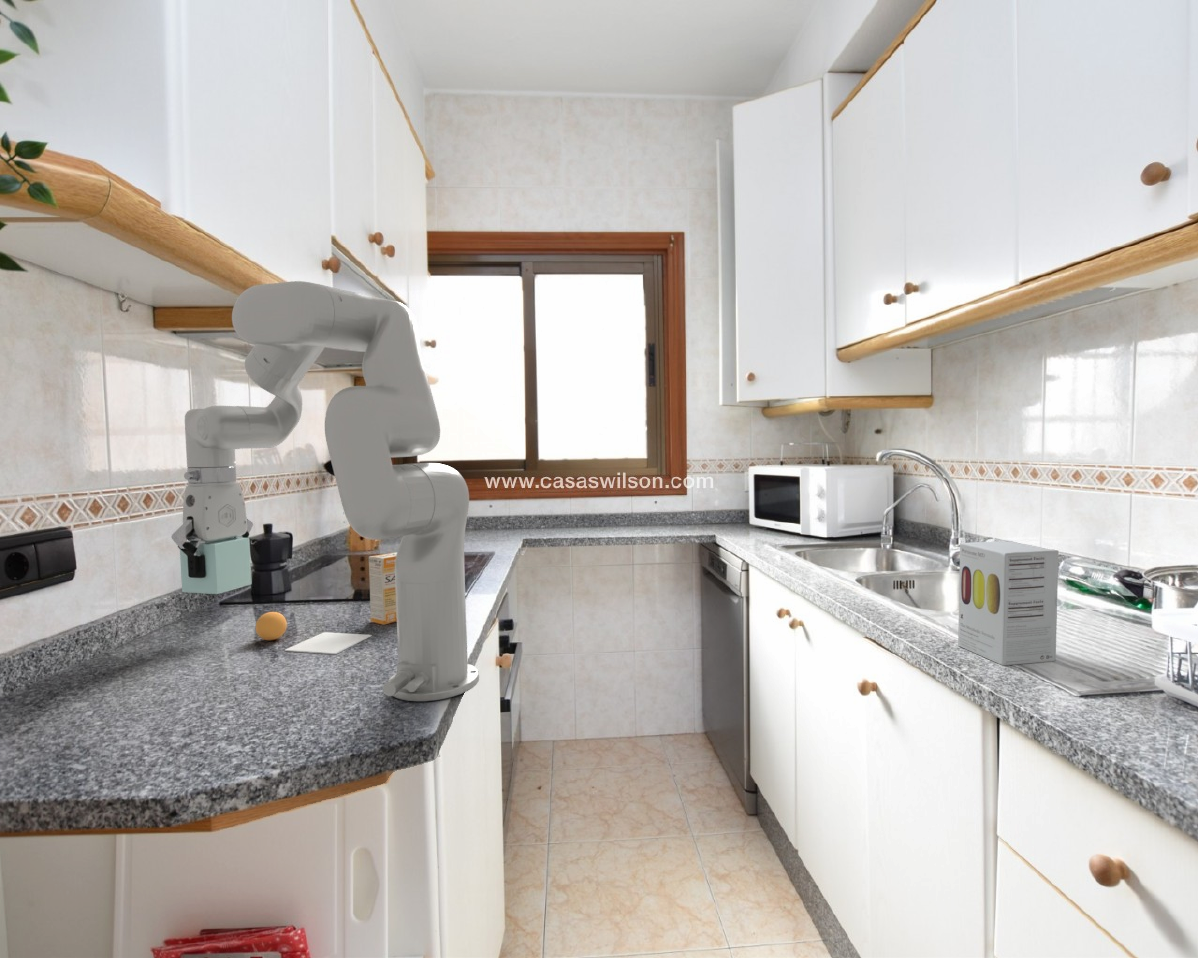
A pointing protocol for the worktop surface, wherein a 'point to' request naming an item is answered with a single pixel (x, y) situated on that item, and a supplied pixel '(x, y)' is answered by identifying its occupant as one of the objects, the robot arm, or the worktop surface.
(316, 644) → the tape square
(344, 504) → the robot arm
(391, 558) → the supplement box
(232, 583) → the mint foam cube
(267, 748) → the worktop surface
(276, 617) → the ball
